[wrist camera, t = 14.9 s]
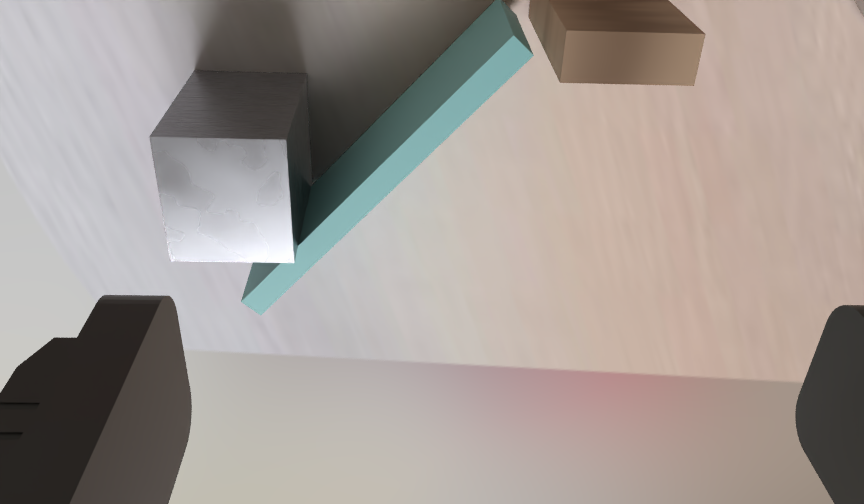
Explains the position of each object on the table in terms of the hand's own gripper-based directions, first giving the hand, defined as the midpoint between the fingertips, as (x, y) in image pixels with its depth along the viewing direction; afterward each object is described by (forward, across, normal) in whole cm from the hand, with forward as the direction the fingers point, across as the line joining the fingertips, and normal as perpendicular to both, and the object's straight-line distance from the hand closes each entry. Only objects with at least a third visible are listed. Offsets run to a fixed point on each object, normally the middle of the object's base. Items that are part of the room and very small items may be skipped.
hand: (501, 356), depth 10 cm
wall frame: (+30, -7, +3) cm, 31 cm away
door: (+30, +2, +10) cm, 31 cm away
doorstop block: (+30, +9, +10) cm, 33 cm away
